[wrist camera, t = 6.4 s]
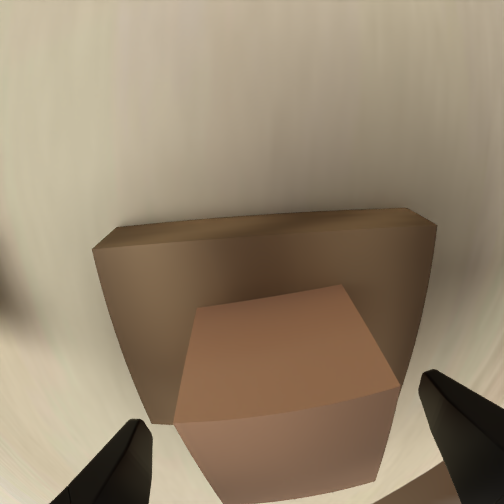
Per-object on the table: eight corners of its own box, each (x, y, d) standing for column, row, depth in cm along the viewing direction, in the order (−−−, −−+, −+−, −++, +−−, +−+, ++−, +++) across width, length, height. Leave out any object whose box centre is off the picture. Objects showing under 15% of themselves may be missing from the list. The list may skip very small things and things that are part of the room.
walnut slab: (400, 204, 13) (437, 225, 10) (377, 364, 16) (396, 401, 13) (121, 223, 13) (91, 249, 10) (161, 382, 16) (151, 423, 13)
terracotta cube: (341, 284, 11) (400, 385, 6) (342, 385, 12) (375, 481, 8) (196, 307, 11) (172, 423, 6) (226, 403, 12) (224, 505, 8)
